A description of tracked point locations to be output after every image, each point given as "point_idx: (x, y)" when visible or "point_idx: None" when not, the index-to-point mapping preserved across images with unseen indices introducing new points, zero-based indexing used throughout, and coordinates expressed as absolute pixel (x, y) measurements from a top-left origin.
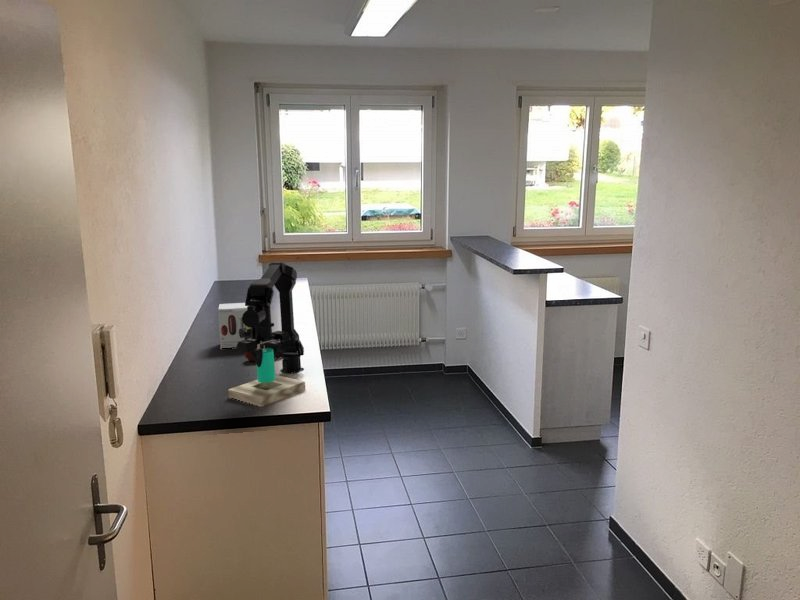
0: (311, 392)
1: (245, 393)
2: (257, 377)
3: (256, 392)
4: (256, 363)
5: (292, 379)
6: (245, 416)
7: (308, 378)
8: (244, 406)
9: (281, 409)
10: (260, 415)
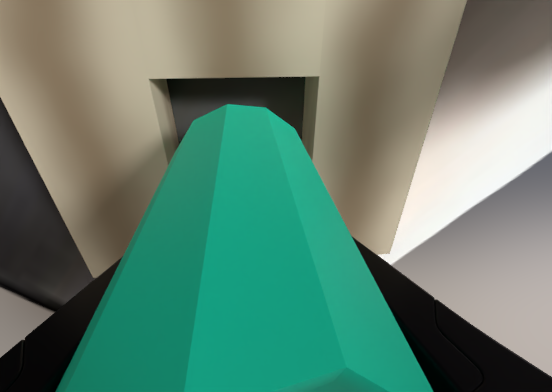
0: None
1: (46, 171)
2: (184, 137)
3: (117, 206)
4: (104, 277)
5: (400, 188)
6: (4, 278)
7: (539, 117)
8: (43, 189)
9: None
10: (66, 302)
